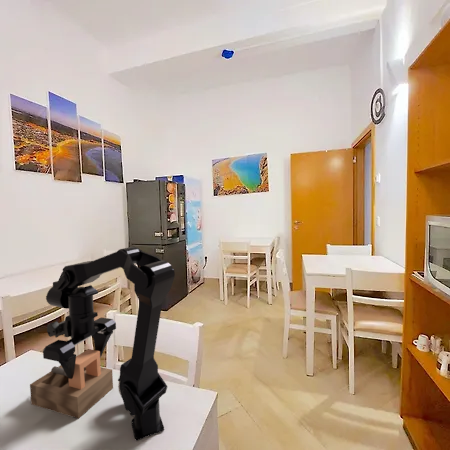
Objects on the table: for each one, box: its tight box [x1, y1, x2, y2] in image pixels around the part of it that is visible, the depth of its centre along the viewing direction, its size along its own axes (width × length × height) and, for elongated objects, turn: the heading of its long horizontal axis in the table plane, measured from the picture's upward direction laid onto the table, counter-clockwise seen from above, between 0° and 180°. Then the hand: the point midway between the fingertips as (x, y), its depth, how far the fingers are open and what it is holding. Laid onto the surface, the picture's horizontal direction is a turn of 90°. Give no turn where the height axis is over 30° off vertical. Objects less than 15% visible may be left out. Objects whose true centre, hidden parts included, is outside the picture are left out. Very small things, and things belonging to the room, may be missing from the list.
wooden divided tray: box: [29, 364, 114, 420], centre depth 77 cm, size 16×12×7 cm
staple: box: [69, 348, 102, 389], centre depth 75 cm, size 7×4×6 cm, turn 161°
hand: (85, 368), depth 75 cm, fingers open, 9 cm apart
